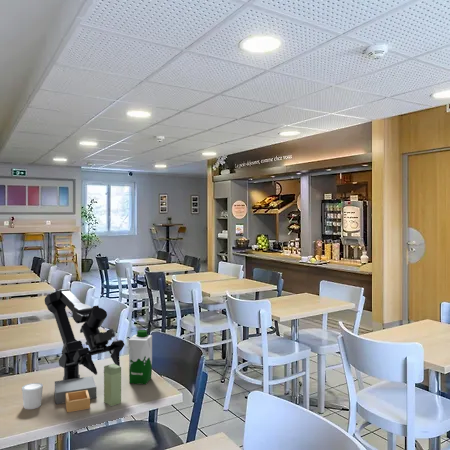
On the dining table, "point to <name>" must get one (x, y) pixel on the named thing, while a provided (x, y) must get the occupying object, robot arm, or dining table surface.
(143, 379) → the milk carton
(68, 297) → the robot arm
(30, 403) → the white cup
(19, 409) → the dining table surface
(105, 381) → the green tall box
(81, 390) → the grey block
